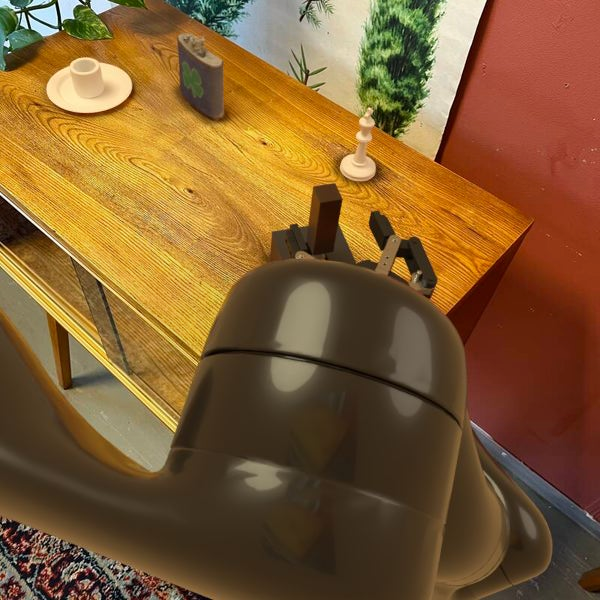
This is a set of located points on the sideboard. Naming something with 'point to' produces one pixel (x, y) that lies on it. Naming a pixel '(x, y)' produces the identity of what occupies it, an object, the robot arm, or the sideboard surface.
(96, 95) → the candle holder
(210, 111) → the flask
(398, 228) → the sideboard surface
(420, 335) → the robot arm
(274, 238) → the knife block
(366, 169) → the chess piece
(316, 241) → the knife
